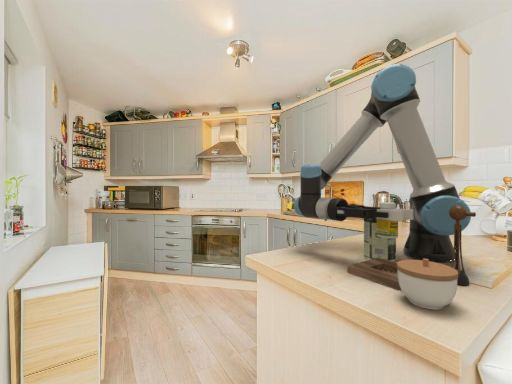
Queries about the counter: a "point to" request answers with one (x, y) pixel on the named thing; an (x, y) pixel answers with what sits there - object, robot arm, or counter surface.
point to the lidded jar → (427, 283)
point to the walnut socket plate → (377, 271)
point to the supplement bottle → (387, 223)
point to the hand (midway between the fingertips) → (407, 215)
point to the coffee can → (377, 243)
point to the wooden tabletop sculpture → (459, 242)
